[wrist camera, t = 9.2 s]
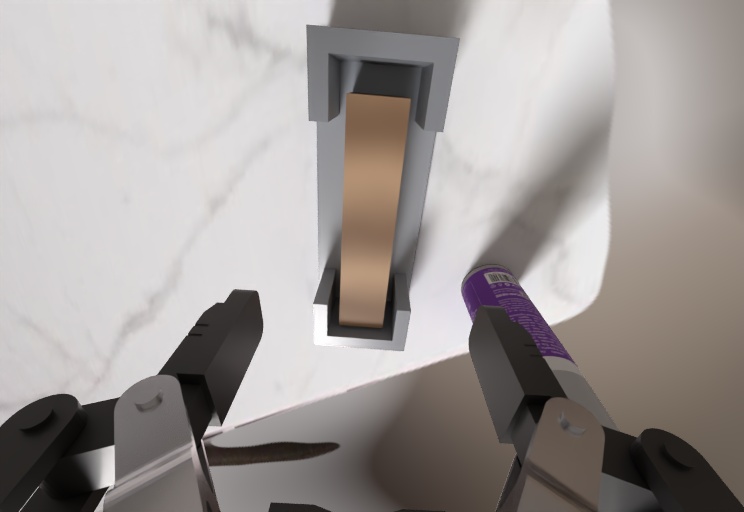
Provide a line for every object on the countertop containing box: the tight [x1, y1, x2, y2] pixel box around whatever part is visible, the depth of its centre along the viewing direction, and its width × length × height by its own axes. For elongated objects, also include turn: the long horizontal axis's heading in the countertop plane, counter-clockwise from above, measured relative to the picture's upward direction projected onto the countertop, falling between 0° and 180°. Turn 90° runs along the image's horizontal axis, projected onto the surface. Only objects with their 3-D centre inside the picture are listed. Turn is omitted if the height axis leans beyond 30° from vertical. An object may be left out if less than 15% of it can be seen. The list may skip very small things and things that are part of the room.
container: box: [461, 265, 620, 432], centre depth 20 cm, size 5×5×15 cm
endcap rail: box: [306, 25, 460, 351], centre depth 21 cm, size 20×8×6 cm, turn 176°
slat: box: [339, 92, 411, 328], centre depth 21 cm, size 16×3×4 cm, turn 176°
